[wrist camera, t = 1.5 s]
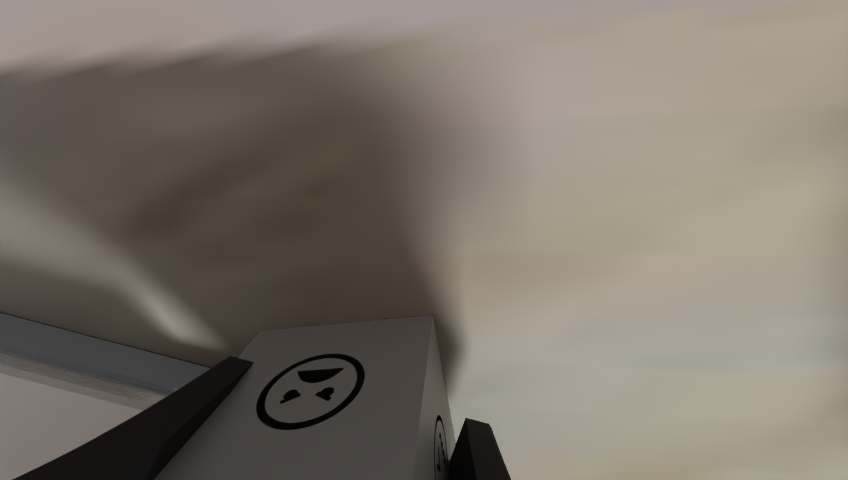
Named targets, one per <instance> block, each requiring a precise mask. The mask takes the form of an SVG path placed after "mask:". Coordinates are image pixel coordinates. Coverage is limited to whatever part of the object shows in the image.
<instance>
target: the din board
mask: <svg viewBox="0 0 848 480" xmlns="http://www.w3.org/2000/svg"><path fill="white" fill-rule="evenodd" d="M209 369H211V368H208V367H204V366H200V365H197V364H193V363H189V362H185V361H181V360H178V359H174V358H170V357H166V356H162V355H159V354H155V353H151V352H147V351H143V350H140V349H136V348H132V347H128V346H124V345H120V344H117V343H113V342H109V341H105V340H101V339H98V338H94V337H90V336H86V335H82V334H79V333H75V332H71V331H67V330H63V329H60V328H56V327H52V326H48V325H44V324H41V323H37V322H33V321H29V320H25V319H22V318H18V317H14V316H10V315H6V314H2V313H0V373H2V374H6V375H9V376H13V377H17V378H21V379H25V380H28V381H32V382H36V383H40V384H44V385H48V386H51V387H55V388H59V389H63V390H67V391H70V392H74V393H78V394H82V395H86V396H90V397H93V398H97V399H101V400H105V401H109V402H112V403H116V404H120V405H124V406H128V407H132V408H135V409H139V410H143V411H144V410H145V409H147V408H148V407H150V406H152V405H153V404H155V403H157V402H158V401H160V400H162V399H163V398H165V397H167V396H168V395H170V394H171V393H173V392H175V391H176V390H178V389H179V388H181V387H183V386H184V385H186V384H187V383H189V382H190V381H192V380H194V379H195V378H197V377H198V376H200V375H201V374H203V373H204V372H206V371H208V370H209Z"/></svg>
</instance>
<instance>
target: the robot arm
mask: <svg viewBox="0 0 848 480" xmlns="http://www.w3.org/2000/svg"><path fill="white" fill-rule="evenodd" d="M253 363H254V362H251V361H247V360H244V359H240V358H236V357H232V356H230V357H228V358H226V359H225V360H223V361H222V362H220V363H218V364H217V365H215V366H214V367H212V368H211V369H209V370H208V371H206V372H204V373H203V374H201V375H200V376H198V377H197V378H195V379H194V380H192V381H190V382H189V383H187V384H186V385H184V386H183V387H181V388H179V389H178V390H176V391H175V392H173V393H171V394H170V395H168V396H167V397H165V398H163V399H162V400H160V401H158V402H157V403H155V404H153V405H152V406H150V407H148V408H147V409H145V410H144V411H142V412H140V413H138V414H137V415H135V416H133V417H132V418H130V419H128V420H126V421H124V422H123V423H121V424H119V425H117V426H116V427H114V428H112V429H110V430H108V431H107V432H105V433H103V434H101V435H100V436H98V437H96V438H94V439H92V440H90V441H89V442H87V443H85V444H83V445H81V446H79V447H77V448H75V449H73V450H72V451H70V452H68V453H66V454H64V455H62V456H60V457H58V458H56V459H54V460H52V461H50V462H48V463H46V464H44V465H42V466H40V467H38V468H35V469H33V470H31V471H29V472H27V473H25V474H23V475H21V476H19V477H17V478H14V479H12V480H154V479H155V478H156V477H157V475H158V474H159V473H160V472H161V471H162V470H163V468H164V467H165V466H166V465H167V464H168V463H169V462H170V461H171V459H172V458H173V457H174V456H175V455H176V454H177V453H178V452H179V450H180V449H181V448H182V447H183V446H184V445H185V444H186V442H187V441H188V440H189V439H190V438H191V437H192V436H193V435H194V433H195V432H196V431H197V430H198V429H199V428H200V427H201V425H202V424H203V423H204V422H205V421H206V420H207V419H208V418H209V416H210V415H211V414H212V413H213V412H214V411H215V410H216V408H217V407H218V406H219V405H220V404H221V403H222V402H223V401H224V399H225V398H226V397H227V396H228V395H229V394H230V393H231V391H232V390H233V389H234V388H235V386H236V385H237V384H238V382H239V381H240V380H241V378H242V377H243V376H244V375H245V373H246V372H247V371H248V369H249V368H250V367H251V365H252V364H253ZM449 480H511V478H510V476H509V473H508V471H507V468H506V466H505V463H504V461H503V458H502V455H501V453H500V450H499V447H498V445H497V442H496V439H495V437H494V434H493V431H492V428H491V427H490V425H489V424H487V423H483V422H479V421H476V420H472V419H468V418H466V419H465V421H464V424H463V427H462V429H461V432H460V435H459V437H458V440H457V443H456V445H455V448H454V451H453V453H452V456H451V458H450V464H449Z"/></svg>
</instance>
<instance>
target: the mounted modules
mask: <svg viewBox="0 0 848 480" xmlns="http://www.w3.org/2000/svg"><path fill="white" fill-rule="evenodd" d="M142 411H143V410H139V409H135V408H132V407H128V406H124V405H120V404H116V403H112V402H109V401H105V400H101V399H97V398H93V397H90V396H86V395H82V394H78V393H74V392H70V391H67V390H63V389H59V388H55V387H51V386H48V385H44V384H40V383H36V382H32V381H28V380H25V379H21V378H17V377H13V376H9V375H6V374H2V373H0V480H12V479H14V478H17V477H19V476H21V475H23V474H25V473H27V472H29V471H31V470H33V469H35V468H38V467H40V466H42V465H44V464H46V463H48V462H50V461H52V460H54V459H56V458H58V457H60V456H62V455H64V454H66V453H68V452H70V451H72V450H73V449H75V448H77V447H79V446H81V445H83V444H85V443H87V442H89V441H90V440H92V439H94V438H96V437H98V436H100V435H101V434H103V433H105V432H107V431H108V430H110V429H112V428H114V427H116V426H117V425H119V424H121V423H123V422H124V421H126V420H128V419H130V418H132V417H133V416H135V415H137V414H138V413H140V412H142Z"/></svg>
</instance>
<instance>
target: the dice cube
mask: <svg viewBox="0 0 848 480" xmlns="http://www.w3.org/2000/svg"><path fill="white" fill-rule="evenodd" d="M237 358H240V359H244V360H247V361H251V362H254V363H253V364H252V365H251V367H250V368H249V369H248V371H247V372H246V373H245V375H244V376H243V377H242V378H241V380H240V381H239V382H238V384H237V385H236V386H235V388H234V389H233V390H232V391H231V393H230V394H229V395H228V396H227V397H226V398H225V399H224V401H223V402H222V403H221V404H220V405H219V406H218V407H217V408H216V410H215V411H214V412H213V413H212V414H211V415H210V416H209V418H208V419H207V420H206V421H205V422H204V423H203V424H202V425H201V427H200V428H199V429H198V430H197V431H196V432H195V433H194V435H193V436H192V437H191V438H190V439H189V440H188V441H187V442H186V444H185V445H184V446H183V447H182V448H181V449H180V450H179V452H178V453H177V454H176V455H175V456H174V457H173V458H172V459H171V461H170V462H169V463H168V464H167V465H166V466H165V467H164V468H163V470H162V471H161V472H160V473H159V474H158V475H157V477H156V478H155V479H154V480H449V464H450V458H451V456H452V453H453V451H454V448H455V445H456V443H455V437H454V431H453V426H452V420H451V414H450V408H449V403H448V397H447V391H446V385H445V380H444V374H443V368H442V362H441V357H440V351H439V345H438V339H437V334H436V328H435V322H434V316H433V315H425V316H414V317H404V318H393V319H382V320H371V321H360V322H349V323H338V324H328V325H317V326H306V327H295V328H284V329H273V330H262V331H259V332H258V334H257V335H256V336H255V337H254V338H253V340H252V341H251V342H250V343H249V344H248V345H247V347H246V348H245V349H244V350H243V351H242V353H241V354H240V355H239V356H238V357H237Z"/></svg>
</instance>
